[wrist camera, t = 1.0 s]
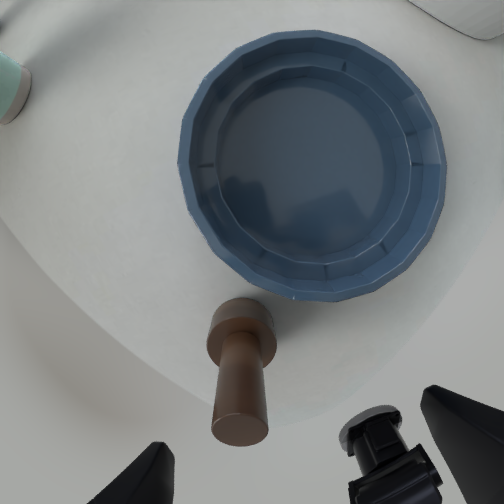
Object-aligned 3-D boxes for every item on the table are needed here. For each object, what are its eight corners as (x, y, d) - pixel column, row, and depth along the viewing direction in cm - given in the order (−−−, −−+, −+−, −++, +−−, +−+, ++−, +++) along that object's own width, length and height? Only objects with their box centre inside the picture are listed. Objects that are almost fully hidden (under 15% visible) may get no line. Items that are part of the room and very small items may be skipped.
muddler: (277, 344, 20) (298, 449, 10) (220, 355, 20) (206, 460, 10) (266, 291, 19) (283, 387, 9) (204, 304, 19) (171, 403, 9)
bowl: (419, 250, 18) (455, 265, 14) (225, 297, 19) (220, 328, 14) (379, 59, 15) (407, 35, 11) (176, 85, 16) (157, 57, 11)
